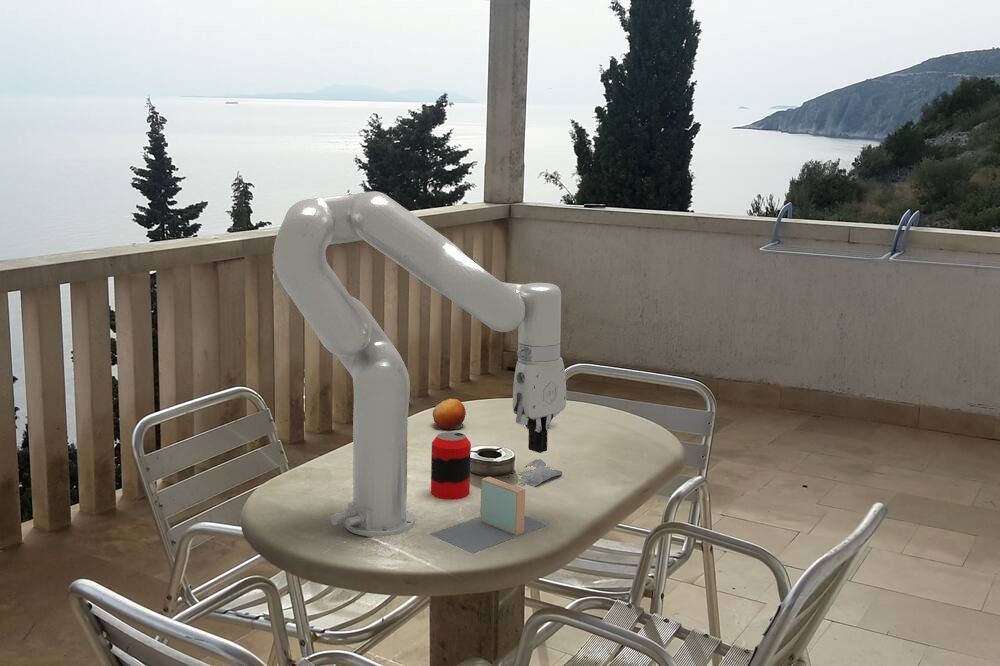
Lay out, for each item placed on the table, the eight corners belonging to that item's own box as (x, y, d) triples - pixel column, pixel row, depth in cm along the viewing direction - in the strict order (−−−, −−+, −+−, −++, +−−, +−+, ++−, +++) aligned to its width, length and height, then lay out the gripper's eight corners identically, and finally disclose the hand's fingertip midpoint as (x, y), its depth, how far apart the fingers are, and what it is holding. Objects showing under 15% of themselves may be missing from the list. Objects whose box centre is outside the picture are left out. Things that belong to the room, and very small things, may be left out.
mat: (472, 555, 169) (473, 553, 169) (429, 536, 177) (429, 533, 176) (548, 527, 182) (548, 524, 182) (504, 510, 190) (504, 508, 190)
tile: (515, 535, 177) (517, 492, 175) (480, 521, 183) (481, 479, 182) (523, 532, 178) (525, 489, 177) (487, 518, 185) (489, 476, 183)
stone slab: (534, 457, 220) (573, 464, 214) (534, 465, 220) (573, 473, 214) (483, 480, 205) (524, 489, 199) (484, 489, 206) (524, 497, 200)
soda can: (477, 496, 197) (479, 437, 195) (448, 504, 192) (450, 444, 190) (451, 486, 203) (452, 428, 200) (422, 494, 197) (423, 435, 195)
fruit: (472, 426, 240) (455, 398, 238) (443, 442, 240) (426, 413, 239) (473, 417, 248) (457, 389, 246) (446, 432, 248) (429, 405, 247)
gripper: (526, 362, 173) (524, 464, 176) (582, 349, 183) (579, 446, 187) (495, 355, 178) (494, 454, 182) (551, 343, 188) (549, 437, 192)
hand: (537, 450), depth 184 cm, fingers closed
